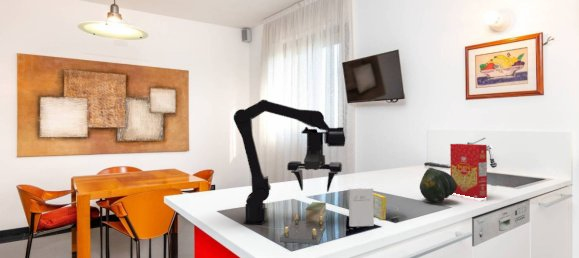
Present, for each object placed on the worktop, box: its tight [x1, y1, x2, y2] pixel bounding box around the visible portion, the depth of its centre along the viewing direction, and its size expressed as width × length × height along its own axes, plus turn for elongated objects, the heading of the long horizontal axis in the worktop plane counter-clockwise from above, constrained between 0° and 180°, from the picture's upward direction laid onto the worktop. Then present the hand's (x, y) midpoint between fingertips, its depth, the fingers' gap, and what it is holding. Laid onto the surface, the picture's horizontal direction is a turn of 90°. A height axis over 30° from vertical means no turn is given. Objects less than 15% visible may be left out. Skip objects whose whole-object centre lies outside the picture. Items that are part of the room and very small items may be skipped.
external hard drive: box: [348, 187, 375, 228], centre depth 109 cm, size 2×8×12 cm, turn 96°
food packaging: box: [449, 143, 488, 198], centre depth 153 cm, size 15×5×25 cm, turn 23°
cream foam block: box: [305, 201, 327, 222], centre depth 118 cm, size 5×11×5 cm, turn 163°
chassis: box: [279, 213, 327, 245], centre depth 101 cm, size 11×18×4 cm, turn 167°
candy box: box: [373, 192, 387, 221], centre depth 124 cm, size 16×2×8 cm, turn 14°
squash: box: [419, 167, 457, 203], centre depth 143 cm, size 14×15×15 cm
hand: (314, 190), depth 115 cm, fingers open, 9 cm apart
